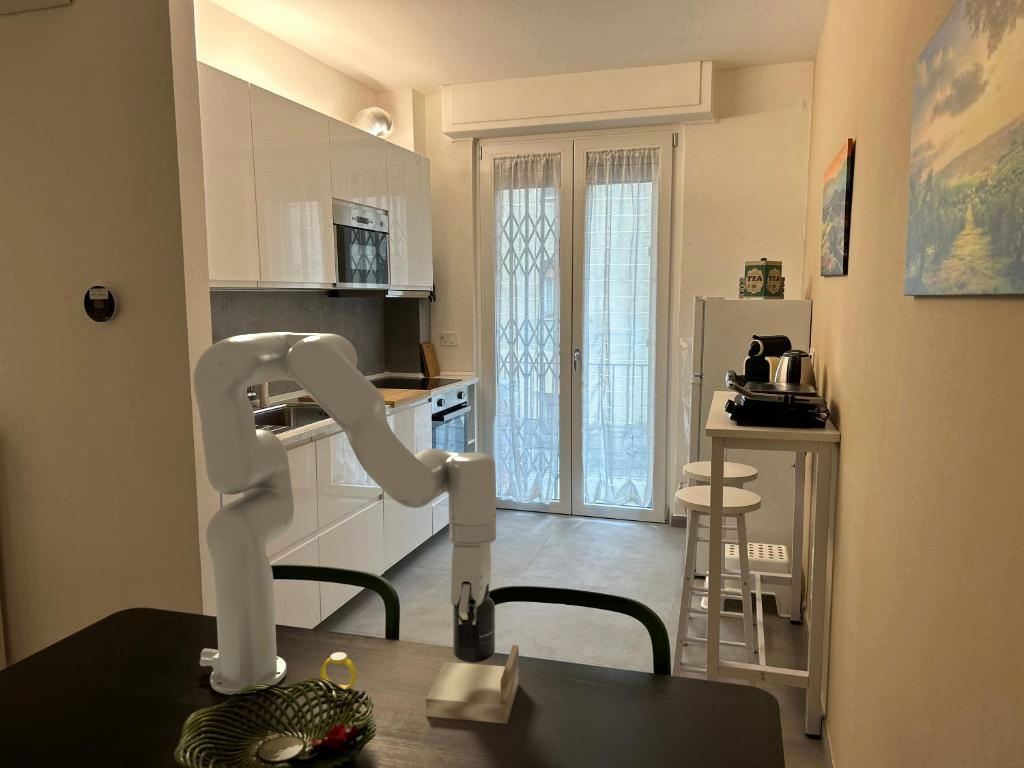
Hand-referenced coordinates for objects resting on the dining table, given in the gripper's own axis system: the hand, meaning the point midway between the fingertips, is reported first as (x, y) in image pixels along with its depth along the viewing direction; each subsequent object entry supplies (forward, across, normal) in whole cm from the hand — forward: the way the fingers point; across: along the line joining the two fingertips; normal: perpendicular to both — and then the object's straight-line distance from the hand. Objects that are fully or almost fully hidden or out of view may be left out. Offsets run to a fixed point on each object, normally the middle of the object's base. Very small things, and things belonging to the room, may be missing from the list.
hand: (474, 635), depth 122 cm
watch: (+11, 0, -24) cm, 26 cm away
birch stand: (+11, 0, 0) cm, 11 cm away
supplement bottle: (+3, 0, 0) cm, 3 cm away
